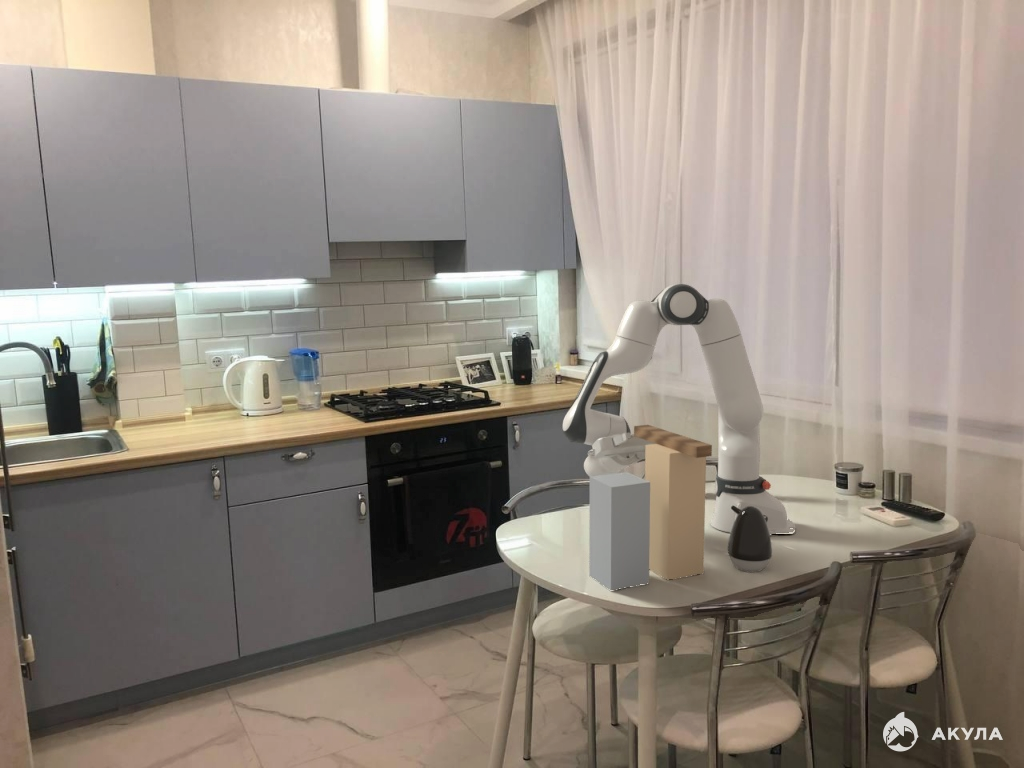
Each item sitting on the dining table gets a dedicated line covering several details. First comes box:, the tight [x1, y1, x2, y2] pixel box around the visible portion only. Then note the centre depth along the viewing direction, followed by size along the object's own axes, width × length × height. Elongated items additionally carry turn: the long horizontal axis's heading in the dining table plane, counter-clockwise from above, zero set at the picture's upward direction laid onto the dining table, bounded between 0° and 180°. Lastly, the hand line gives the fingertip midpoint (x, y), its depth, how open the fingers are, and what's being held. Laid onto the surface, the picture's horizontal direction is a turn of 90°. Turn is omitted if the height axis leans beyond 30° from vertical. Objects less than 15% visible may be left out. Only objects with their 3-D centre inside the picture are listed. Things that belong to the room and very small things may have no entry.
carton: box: [644, 444, 707, 581], centre depth 192 cm, size 10×10×30 cm
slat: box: [633, 424, 713, 458], centre depth 192 cm, size 26×4×2 cm, turn 23°
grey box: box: [588, 471, 650, 591], centre depth 187 cm, size 10×10×24 cm
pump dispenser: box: [727, 506, 773, 573], centre depth 194 cm, size 10×10×15 cm
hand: (644, 433), depth 202 cm, fingers open, 8 cm apart
